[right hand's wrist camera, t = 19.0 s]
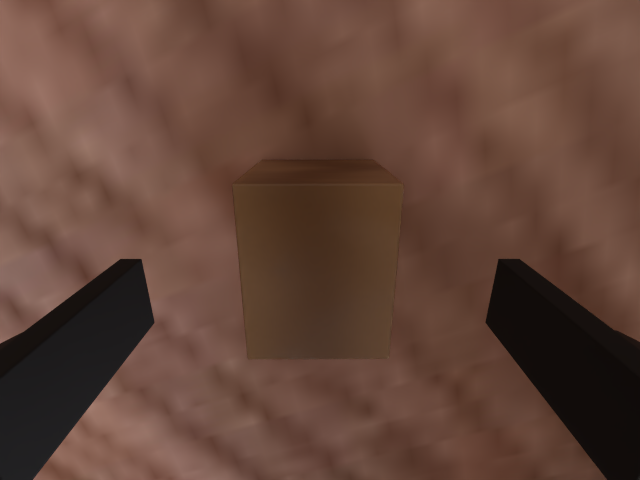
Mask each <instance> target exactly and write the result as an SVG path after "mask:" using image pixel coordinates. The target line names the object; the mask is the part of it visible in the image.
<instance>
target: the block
mask: <svg viewBox="0 0 640 480" xmlns="http://www.w3.org/2000/svg"><path fill="white" fill-rule="evenodd" d="M403 190H404V184H403V183H402V182H401V181H399V180H398V179H397V178H396V177H394V176H393V175H392V174H391V173H389V172H388V171H387V170H386V169H384V168H383V167H382V166H381V165H379V164H378V163H377V162H376V161H374V160H261V161H260V162H259V163H257V164H256V165H255V166H254V167H253V168H251V169H250V170H249V171H248V172H246V173H245V174H244V175H243V176H242V177H240V178H239V179H238V180H237V181H235V182H234V183H233V184H232V191H233V202H234V213H235V224H236V235H237V247H238V258H239V269H240V280H241V291H242V302H243V314H244V325H245V336H246V347H247V357H248V359H388V358H389V354H390V342H391V330H392V319H393V307H394V295H395V284H396V272H397V260H398V249H399V237H400V225H401V214H402V202H403Z"/></svg>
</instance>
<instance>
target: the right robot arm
mask: <svg viewBox="0 0 640 480" xmlns="http://www.w3.org/2000/svg"><path fill="white" fill-rule="evenodd" d="M153 324H154V318H153V313H152V308H151V303H150V298H149V293H148V289H147V284H146V279H145V274H144V269H143V264H142V259H120V260H119V261H117V262H116V263H115V264H113V265H112V266H111V267H109V268H108V269H107V270H105V271H104V272H103V273H101V274H100V275H99V276H97V277H96V278H95V279H93V280H92V281H91V282H89V283H88V284H87V285H85V286H84V287H83V288H81V289H80V290H79V291H77V292H76V293H75V294H73V295H72V296H71V297H69V298H68V299H67V300H65V301H64V302H63V303H61V304H60V305H59V306H58V307H56V308H55V309H54V310H52V311H51V312H50V313H48V314H47V315H46V316H44V317H43V318H42V319H40V320H39V321H38V322H36V323H35V324H34V325H32V326H31V327H30V328H28V329H27V330H26V331H24V332H22V333H20V334H18V335H16V336H14V337H12V338H10V339H8V340H7V341H5V342H3V343H1V344H0V480H33V479H34V477H35V476H36V475H37V473H38V472H39V471H40V470H41V468H42V467H43V466H44V464H45V463H46V462H47V461H48V459H49V458H50V457H51V455H52V454H53V453H54V452H55V450H56V449H57V448H58V446H59V445H60V444H61V443H62V441H63V440H64V439H65V437H66V436H67V435H68V433H69V432H70V431H71V430H72V428H73V427H74V426H75V424H76V423H77V422H78V421H79V419H80V418H81V417H82V415H83V414H84V413H85V412H86V410H87V409H88V408H89V406H90V405H91V404H92V403H93V401H94V400H95V399H96V397H97V396H98V395H99V394H100V392H101V391H102V390H103V388H104V387H105V386H106V384H107V383H108V382H109V381H110V379H111V378H112V377H113V375H114V374H115V373H116V372H117V370H118V369H119V368H120V366H121V365H122V364H123V363H124V361H125V360H126V359H127V357H128V356H129V355H130V354H131V352H132V351H133V350H134V348H135V347H136V346H137V344H138V343H139V342H140V341H141V339H142V338H143V337H144V335H145V334H146V333H147V332H148V330H149V329H150V328H151V326H152V325H153ZM486 324H487V325H488V326H489V328H490V329H491V330H492V332H493V333H494V334H495V335H496V337H497V338H498V339H499V341H500V342H501V343H502V344H503V346H504V347H505V348H506V350H507V351H508V352H509V354H510V355H511V356H512V357H513V359H514V360H515V361H516V363H517V364H518V365H519V366H520V368H521V369H522V370H523V372H524V373H525V374H526V375H527V377H528V378H529V379H530V381H531V382H532V383H533V384H534V386H535V387H536V388H537V390H538V391H539V392H540V394H541V395H542V396H543V397H544V399H545V400H546V401H547V403H548V404H549V405H550V406H551V408H552V409H553V410H554V412H555V413H556V414H557V415H558V417H559V418H560V419H561V421H562V422H563V423H564V424H565V426H566V427H567V428H568V430H569V431H570V432H571V433H572V435H573V436H574V437H575V439H576V440H577V441H578V443H579V444H580V445H581V446H582V448H583V449H584V450H585V452H586V453H587V454H588V455H589V457H590V458H591V459H592V461H593V462H594V463H595V464H596V466H597V467H598V468H599V470H600V471H601V472H602V473H603V475H604V476H605V477H606V479H607V480H640V342H638V341H637V340H635V339H633V338H631V337H629V336H627V335H625V334H623V333H621V332H619V331H614V330H613V329H612V328H610V327H609V326H608V325H606V324H605V323H604V322H602V321H601V320H600V319H598V318H597V317H596V316H594V315H593V314H592V313H590V312H589V311H588V310H586V309H585V308H584V307H582V306H581V305H580V304H579V303H577V302H576V301H575V300H573V299H572V298H571V297H569V296H568V295H567V294H565V293H564V292H563V291H561V290H560V289H559V288H557V287H556V286H555V285H553V284H552V283H551V282H549V281H548V280H547V279H545V278H544V277H543V276H541V275H540V274H539V273H537V272H536V271H535V270H533V269H532V268H531V267H529V266H528V265H527V264H525V263H524V262H523V261H521V260H520V259H498V264H497V269H496V274H495V279H494V284H493V289H492V293H491V298H490V303H489V308H488V313H487V318H486Z"/></svg>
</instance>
